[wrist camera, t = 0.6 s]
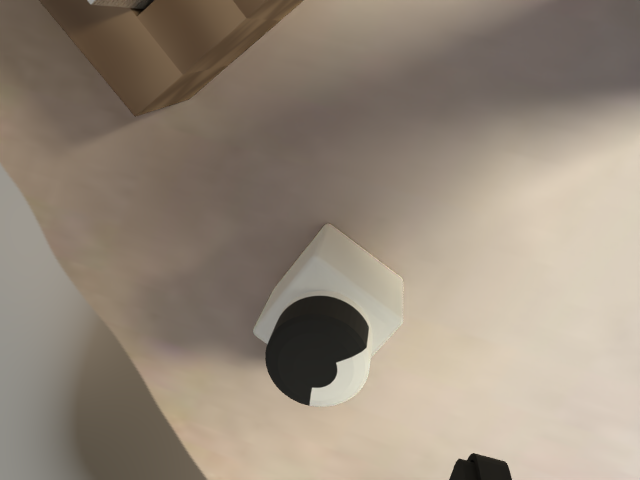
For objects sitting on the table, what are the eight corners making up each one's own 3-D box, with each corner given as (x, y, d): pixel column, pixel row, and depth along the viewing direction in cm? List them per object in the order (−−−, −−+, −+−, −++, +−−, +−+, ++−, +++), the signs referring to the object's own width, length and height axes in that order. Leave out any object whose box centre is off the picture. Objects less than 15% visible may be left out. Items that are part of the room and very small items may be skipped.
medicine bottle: (271, 290, 46) (229, 373, 35) (327, 219, 44) (301, 285, 33) (346, 344, 47) (328, 444, 36) (405, 278, 44) (405, 362, 33)
